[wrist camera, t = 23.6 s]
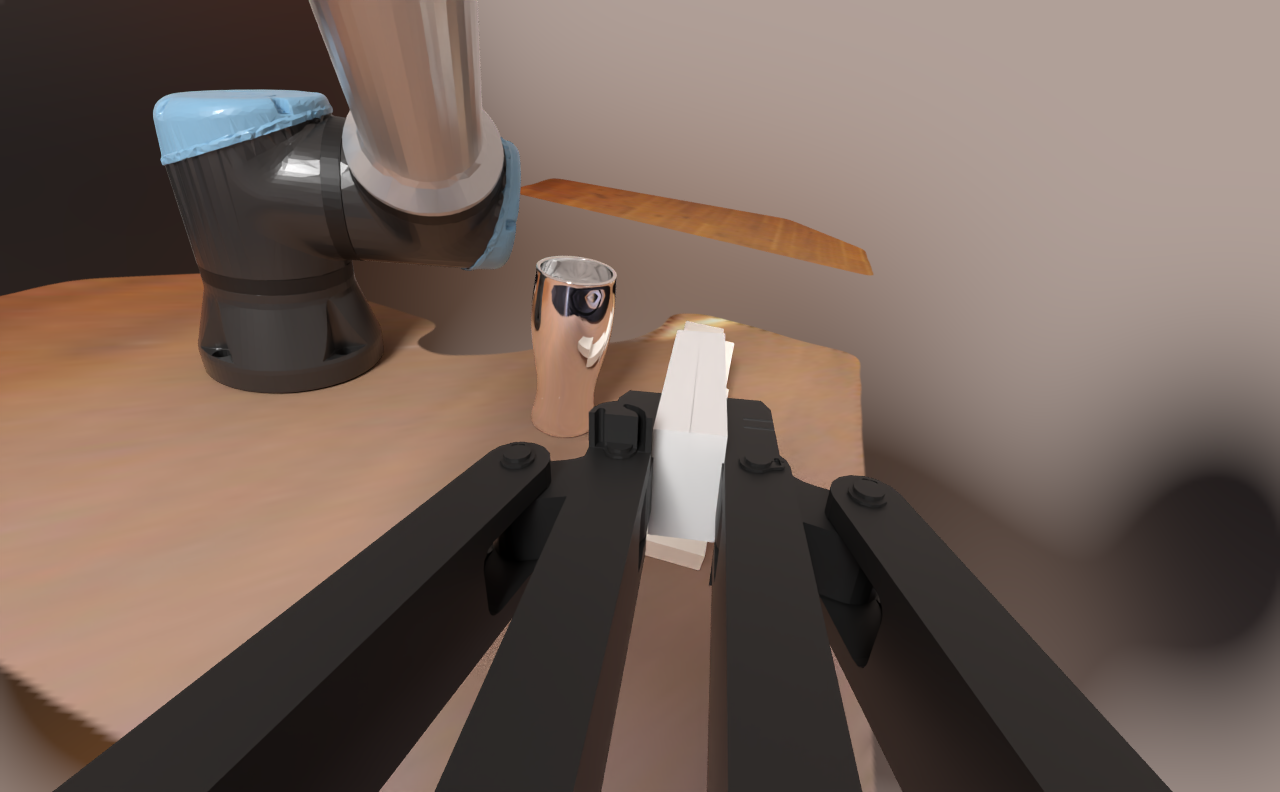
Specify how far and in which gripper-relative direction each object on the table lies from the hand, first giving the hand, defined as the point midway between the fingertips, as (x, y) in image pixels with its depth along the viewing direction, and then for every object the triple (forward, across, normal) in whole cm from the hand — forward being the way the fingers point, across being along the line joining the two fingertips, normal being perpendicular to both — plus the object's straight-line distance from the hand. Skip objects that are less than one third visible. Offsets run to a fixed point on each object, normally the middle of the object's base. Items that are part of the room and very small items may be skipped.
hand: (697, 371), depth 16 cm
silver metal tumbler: (+27, -13, -17) cm, 34 cm away
